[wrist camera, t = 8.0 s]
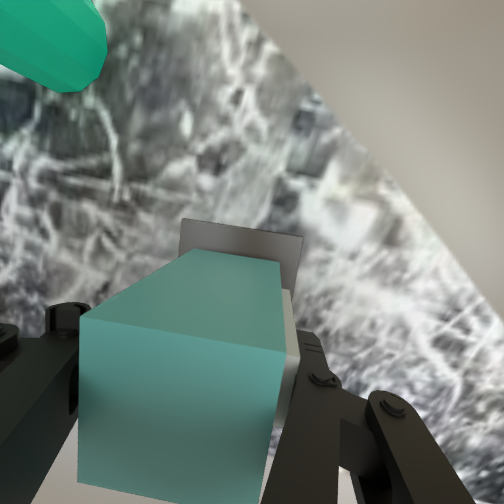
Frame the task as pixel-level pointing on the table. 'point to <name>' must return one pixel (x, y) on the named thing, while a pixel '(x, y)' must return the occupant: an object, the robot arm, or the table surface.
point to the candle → (53, 42)
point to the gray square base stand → (245, 245)
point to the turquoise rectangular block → (183, 381)
